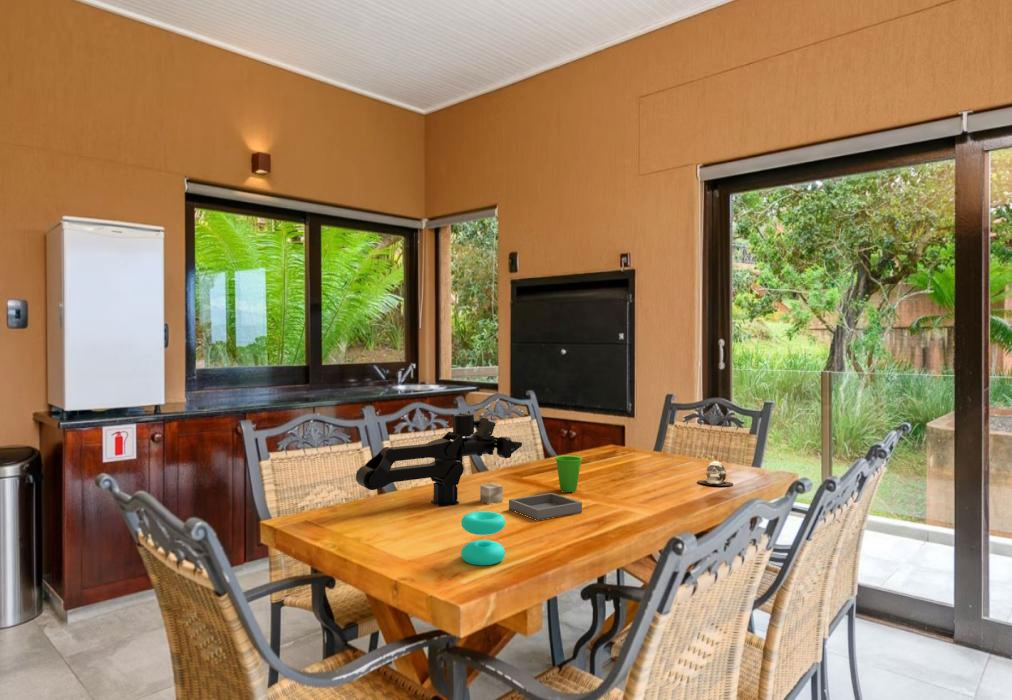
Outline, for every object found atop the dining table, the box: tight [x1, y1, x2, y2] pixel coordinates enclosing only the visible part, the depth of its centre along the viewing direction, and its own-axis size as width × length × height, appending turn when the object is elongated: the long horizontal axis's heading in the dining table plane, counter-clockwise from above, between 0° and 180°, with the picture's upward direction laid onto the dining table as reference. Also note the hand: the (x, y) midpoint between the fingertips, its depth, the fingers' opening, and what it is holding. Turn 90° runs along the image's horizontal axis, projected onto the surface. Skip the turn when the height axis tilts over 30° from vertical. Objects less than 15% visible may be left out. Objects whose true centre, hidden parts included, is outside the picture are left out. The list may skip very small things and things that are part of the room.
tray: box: [508, 492, 583, 521], centre depth 187 cm, size 16×14×3 cm
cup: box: [554, 455, 583, 493], centre depth 213 cm, size 9×9×11 cm
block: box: [479, 483, 504, 505], centre depth 198 cm, size 5×5×5 cm
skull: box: [696, 460, 734, 486], centre depth 226 cm, size 12×10×10 cm
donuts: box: [460, 510, 506, 566], centre depth 146 cm, size 10×10×10 cm
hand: (513, 442), depth 210 cm, fingers open, 9 cm apart
